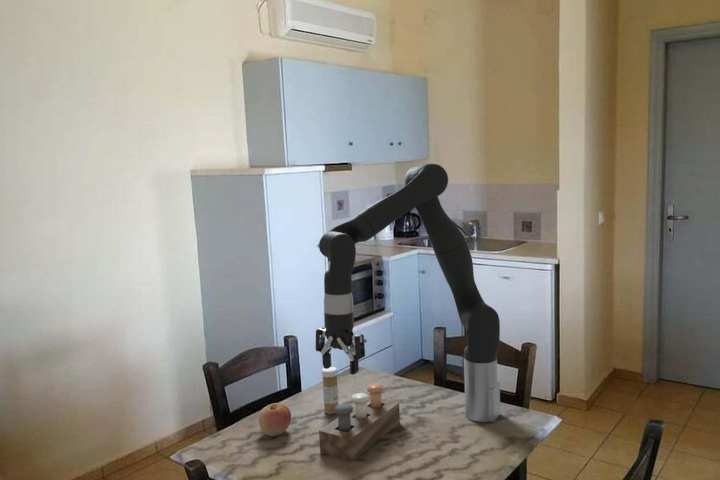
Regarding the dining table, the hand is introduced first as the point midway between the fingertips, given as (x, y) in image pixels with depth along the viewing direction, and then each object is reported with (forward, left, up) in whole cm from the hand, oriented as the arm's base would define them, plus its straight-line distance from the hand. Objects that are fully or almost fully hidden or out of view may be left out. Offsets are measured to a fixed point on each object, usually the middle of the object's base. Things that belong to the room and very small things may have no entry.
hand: (340, 370), depth 154 cm
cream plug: (-1, -7, -16) cm, 18 cm away
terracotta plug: (-1, -15, -16) cm, 22 cm away
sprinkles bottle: (+16, -17, -21) cm, 32 cm away
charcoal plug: (-1, +1, -16) cm, 16 cm away
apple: (+22, +2, -21) cm, 31 cm away
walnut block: (-1, -7, -21) cm, 22 cm away
